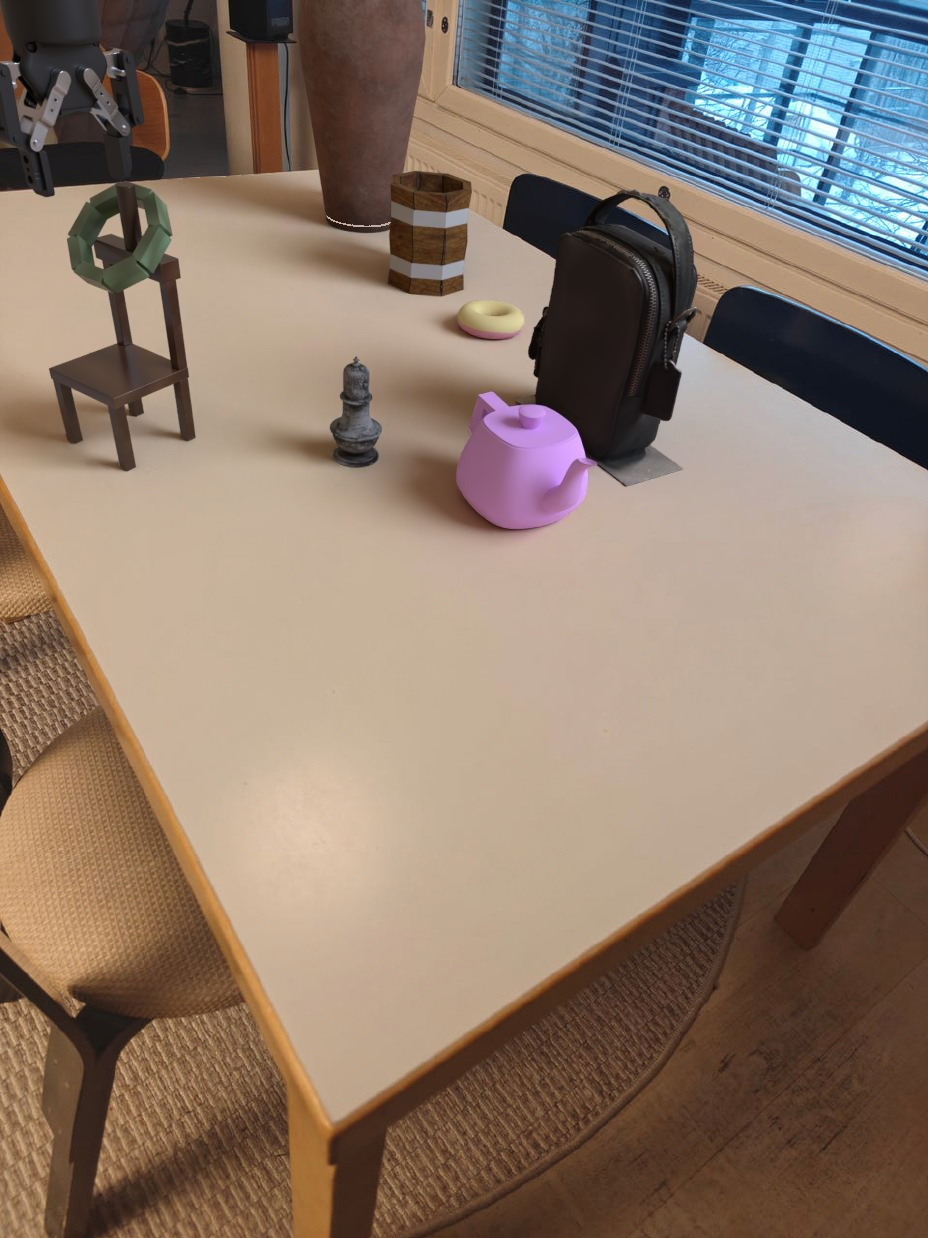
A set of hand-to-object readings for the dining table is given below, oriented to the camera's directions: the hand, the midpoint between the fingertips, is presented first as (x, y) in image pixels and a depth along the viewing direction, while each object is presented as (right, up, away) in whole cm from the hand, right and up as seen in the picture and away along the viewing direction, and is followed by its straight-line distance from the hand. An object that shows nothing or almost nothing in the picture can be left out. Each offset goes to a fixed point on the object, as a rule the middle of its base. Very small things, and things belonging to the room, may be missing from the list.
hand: (83, 186), depth 80 cm
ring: (+1, -2, +7) cm, 7 cm away
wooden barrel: (+28, +18, +65) cm, 73 cm away
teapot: (+42, -28, +14) cm, 52 cm away
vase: (+15, +37, +85) cm, 94 cm away
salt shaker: (+23, -22, +19) cm, 37 cm away
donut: (+39, +3, +50) cm, 64 cm away
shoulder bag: (+52, -17, +28) cm, 61 cm away
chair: (-2, -20, +18) cm, 27 cm away
